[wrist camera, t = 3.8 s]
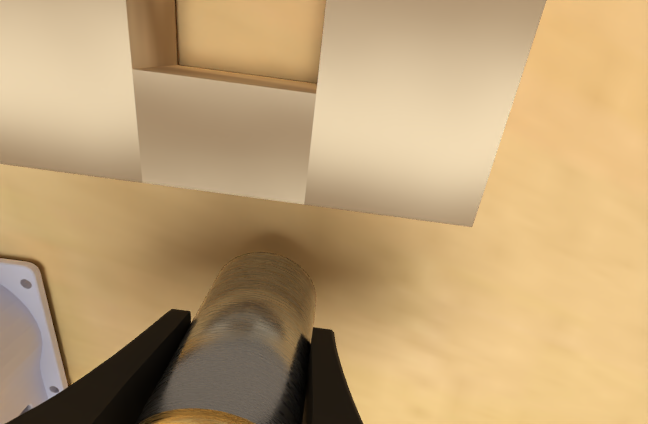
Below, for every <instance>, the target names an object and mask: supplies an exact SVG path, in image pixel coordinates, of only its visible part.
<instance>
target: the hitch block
mask: <svg viewBox="0 0 648 424" xmlns="http://www.w3.org/2000/svg"><path fill="white" fill-rule="evenodd" d="M545 3H546V0H326V8H325V17H324V26H323V36H322V45H321V54H320V63H319V73H318V82H317V84H316V83H308V82H301V81H294V80H286V79H279V78H271V77H264V76H256V75H249V74H241V73H234V72H226V71H219V70H212V69H204V68H197V67H189V66H182V65H177V43H176V20H175V0H0V164H6V165H13V166H21V167H28V168H36V169H43V170H50V171H58V172H65V173H73V174H80V175H88V176H95V177H103V178H110V179H118V180H125V181H132V182H140V183H147V184H155V185H162V186H170V187H177V188H185V189H192V190H200V191H207V192H214V193H222V194H229V195H237V196H244V197H252V198H259V199H267V200H274V201H281V202H289V203H296V204H304V205H311V206H319V207H326V208H334V209H341V210H349V211H356V212H363V213H371V214H378V215H386V216H393V217H401V218H408V219H416V220H423V221H430V222H438V223H445V224H453V225H460V226H468V227H472V226H473V223H474V220H475V217H476V214H477V211H478V208H479V205H480V202H481V198H482V195H483V192H484V189H485V186H486V183H487V180H488V177H489V174H490V171H491V168H492V165H493V162H494V159H495V156H496V153H497V150H498V147H499V144H500V141H501V138H502V134H503V131H504V128H505V125H506V122H507V119H508V116H509V113H510V110H511V107H512V104H513V101H514V98H515V95H516V92H517V89H518V86H519V83H520V80H521V77H522V73H523V70H524V67H525V64H526V61H527V58H528V55H529V52H530V49H531V46H532V43H533V40H534V37H535V34H536V31H537V28H538V25H539V22H540V19H541V16H542V13H543V9H544V6H545Z"/></svg>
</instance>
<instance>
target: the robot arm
mask: <svg viewBox="0 0 648 424" xmlns="http://www.w3.org/2000/svg"><path fill="white" fill-rule="evenodd" d="M190 325H191V315H190V311H184V310H176V309H171V310H170V311H169V312H167V313H166V314H165V315H164V316H162V317H161V318H160V319H159V320H157V321H156V322H155V323H154V324H153V325H151V326H150V327H149V328H148V329H146V330H145V331H144V332H143V333H141V334H140V335H139V336H138V337H136V338H135V339H134V340H133V341H131V342H130V343H129V344H127V345H126V346H125V347H124V348H122V349H121V350H120V351H118V352H117V353H116V354H115V355H113V356H112V357H111V358H109V359H108V360H106V361H105V362H104V363H102V364H101V365H99V366H98V367H97V368H95V369H94V370H92V371H91V372H90V373H88V374H87V375H85V376H84V377H82V378H81V379H79V380H78V381H76V382H75V383H73V384H72V385H70V386H69V387H68V384H67V380H66V376H65V372H64V368H63V363H62V359H61V355H60V351H59V347H58V343H57V339H56V335H55V331H54V326H53V322H52V318H51V314H50V310H49V306H48V302H47V298H46V294H45V289H44V285H43V281H42V277H41V273H40V270H39V268H38V267H37V266H36V265H34V264H33V263H30V262H26V261H18V260H11V259H3V258H0V424H135V423H136V421H137V419H138V418H139V416H140V414H141V412H142V411H143V409H144V407H145V405H146V403H147V402H148V400H149V398H150V396H151V394H152V393H153V391H154V389H155V387H156V385H157V384H158V382H159V380H160V378H161V377H162V375H163V373H164V371H165V369H166V368H167V366H168V364H169V362H170V360H171V359H172V357H173V355H174V353H175V351H176V350H177V348H178V346H179V344H180V343H181V341H182V339H183V337H184V335H185V334H186V332H187V330H188V328H189V326H190ZM302 424H363V422H362V420H361V418H360V415H359V413H358V411H357V408H356V406H355V403H354V401H353V398H352V396H351V393H350V391H349V388H348V385H347V382H346V379H345V376H344V373H343V370H342V367H341V363H340V360H339V356H338V352H337V348H336V343H335V337H334V332H333V331H332V330H329V329H321V328H314V327H313V331H312V338H311V345H310V354H309V363H308V375H307V386H306V395H305V404H304V413H303V422H302Z"/></svg>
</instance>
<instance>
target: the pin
mask: <svg viewBox="0 0 648 424" xmlns="http://www.w3.org/2000/svg"><path fill="white" fill-rule="evenodd" d="M315 306H316V292H315V288H314V285H313V283H312V281H311V279H310V278H309V276H308V275H307V274H306V272H305V271H304V270H303V269H302V268H301V267H300V266H298V265H297V264H296V263H294V262H293V261H291V260H289V259H287V258H285V257H282V256H279V255H276V254H271V253H262V252H259V253H249V254H245V255H242V256H239V257H237V258H235V259H233V260H232V261H230V262H229V263H228V264H226V265H225V266H224V267H223V269H222V270H221V271H220V273H219V275H218V276H217V278H216V280H215V282H214V284H213V285H212V287H211V289H210V291H209V292H208V294H207V296H206V298H205V300H204V301H203V303H202V305H201V307H200V309H199V310H198V312H197V314H196V316H195V317H194V319H193V321H192V323H191V325H190V326H189V328H188V330H187V332H186V334H185V335H184V337H183V339H182V341H181V343H180V344H179V346H178V348H177V350H176V351H175V353H174V355H173V357H172V359H171V360H170V362H169V364H168V366H167V368H166V369H165V371H164V373H163V375H162V377H161V378H160V380H159V382H158V384H157V385H156V387H155V389H154V391H153V393H152V394H151V396H150V398H149V400H148V402H147V403H146V405H145V407H144V409H143V411H142V412H141V414H140V416H139V418H138V419H137V421H136V423H135V424H302V422H303V413H304V404H305V395H306V386H307V375H308V363H309V354H310V345H311V338H312V331H313V324H314V315H315Z"/></svg>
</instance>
